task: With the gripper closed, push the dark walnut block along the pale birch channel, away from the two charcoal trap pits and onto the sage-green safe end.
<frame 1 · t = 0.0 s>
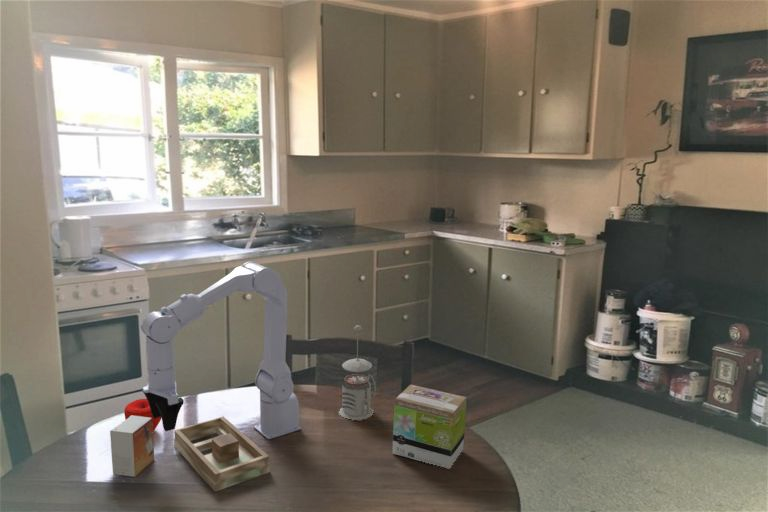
hand: (163, 423, 137), 10 cm above the table, tool pointing down, fingers open, 7 cm apart
french press: (358, 414, 167), on the table
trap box: (220, 458, 142), on the table
tea box: (428, 454, 147), on the table
walnut block: (225, 455, 139), point 2 cm above the table, touching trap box
small box: (134, 467, 137), on the table
apple: (144, 432, 153), on the table
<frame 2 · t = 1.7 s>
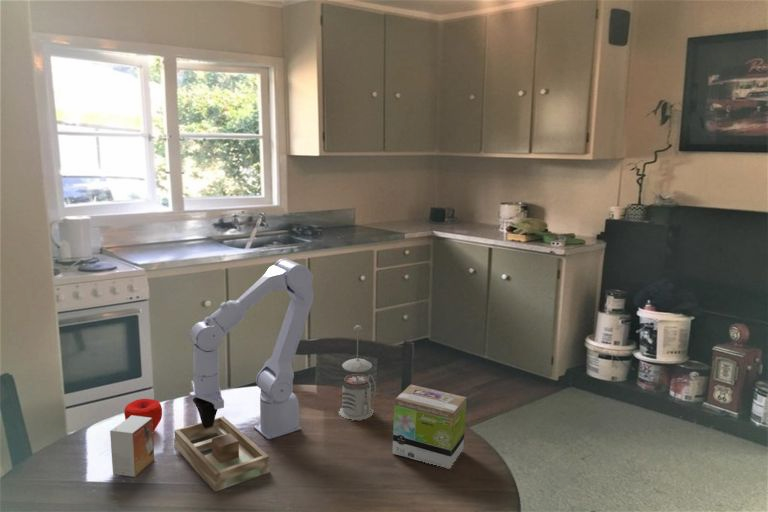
hand: (207, 426, 146), 5 cm above the table, tool pointing down, fingers closed
nothing on the table moved.
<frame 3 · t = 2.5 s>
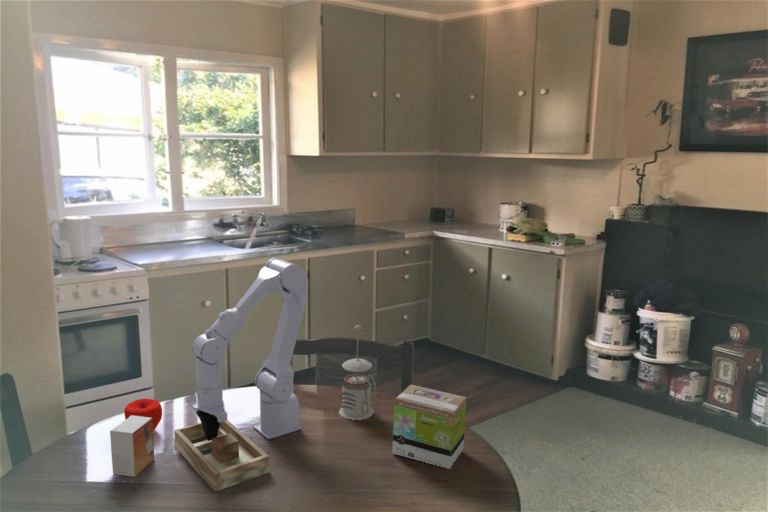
hand: (211, 438, 145), 3 cm above the table, tool pointing down, fingers closed
nothing on the table moved.
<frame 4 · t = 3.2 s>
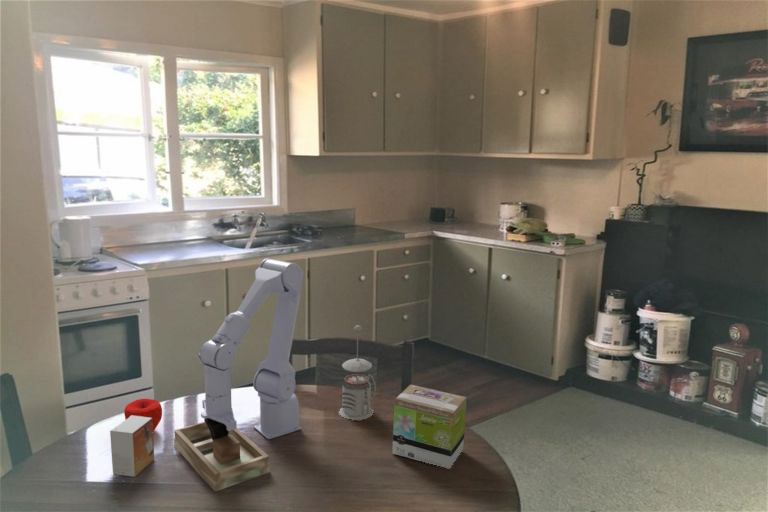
hand: (219, 446, 141), 3 cm above the table, tool pointing down, fingers closed
walnut block: (226, 457, 138), point 2 cm above the table, touching gripper
everything else where it was.
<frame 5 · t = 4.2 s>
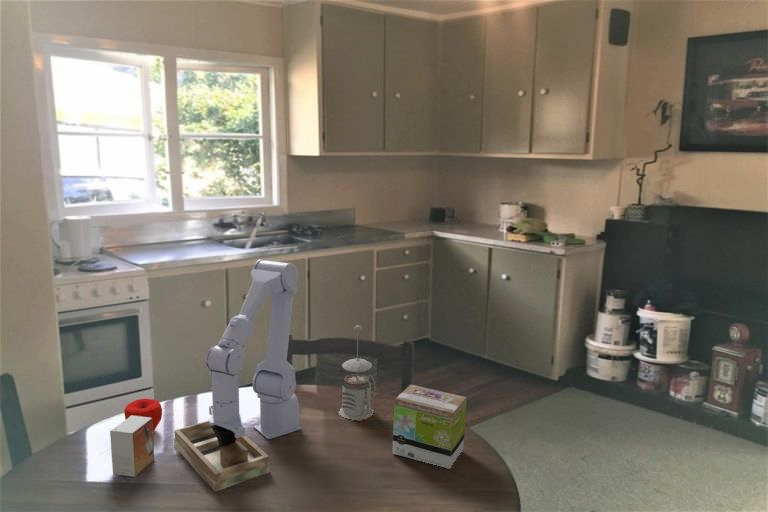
hand: (227, 454, 138), 3 cm above the table, tool pointing down, fingers closed
walnut block: (234, 464, 135), point 2 cm above the table, touching gripper, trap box
everything else where it was.
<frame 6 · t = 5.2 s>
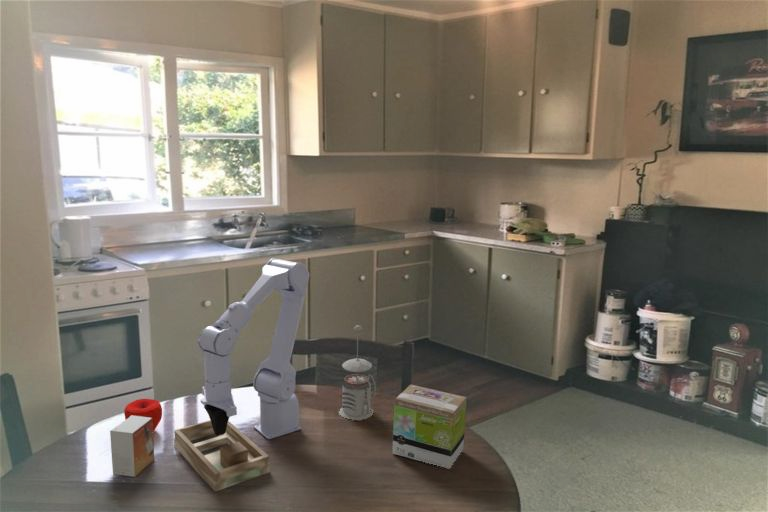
hand: (219, 433, 141), 6 cm above the table, tool pointing down, fingers closed
walnut block: (234, 464, 135), point 2 cm above the table, touching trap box
everything else where it was.
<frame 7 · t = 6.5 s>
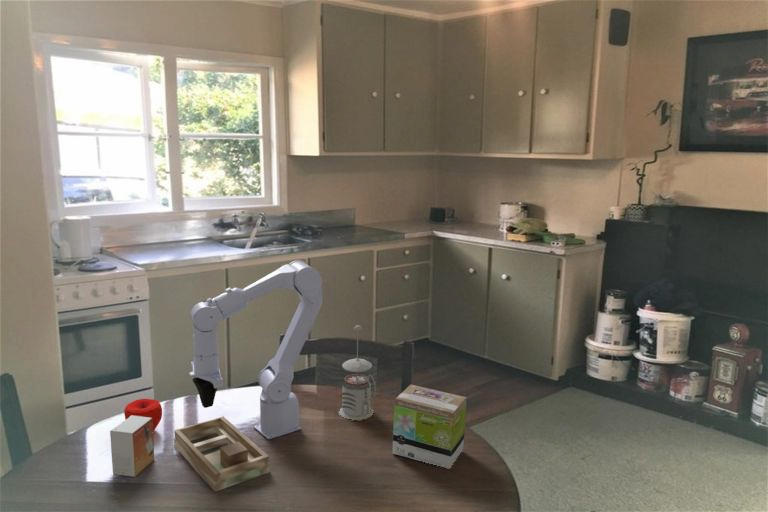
hand: (207, 406, 147), 9 cm above the table, tool pointing down, fingers closed
nothing on the table moved.
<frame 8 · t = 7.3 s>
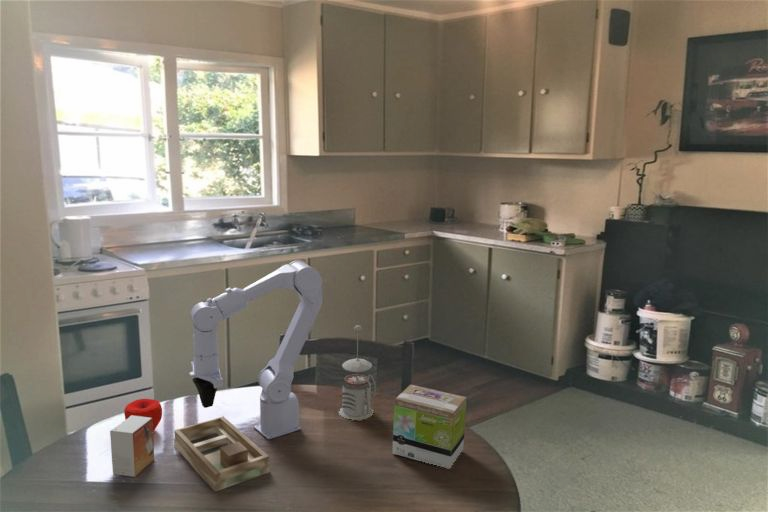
hand: (207, 406, 147), 9 cm above the table, tool pointing down, fingers closed
nothing on the table moved.
at the end: walnut block 0.7 cm from the target spot on the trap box, point 2.0 cm above the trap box's base; walnut block tilted 0°; the gripper is holding nothing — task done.
